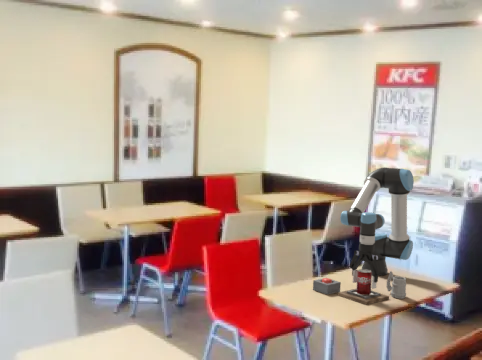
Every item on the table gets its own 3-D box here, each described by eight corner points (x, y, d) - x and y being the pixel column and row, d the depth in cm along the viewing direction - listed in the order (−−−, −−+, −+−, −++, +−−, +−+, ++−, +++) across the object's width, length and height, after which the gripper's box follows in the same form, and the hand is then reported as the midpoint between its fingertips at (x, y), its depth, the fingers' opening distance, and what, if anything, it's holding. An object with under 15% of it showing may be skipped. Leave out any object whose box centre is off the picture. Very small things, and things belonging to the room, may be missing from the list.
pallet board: (360, 290, 312) (361, 285, 312) (388, 298, 298) (389, 294, 298) (338, 295, 300) (338, 290, 300) (366, 304, 287) (366, 299, 286)
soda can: (370, 296, 295) (372, 273, 294) (356, 295, 296) (357, 271, 295) (370, 292, 302) (371, 269, 301) (356, 291, 303) (357, 268, 302)
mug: (399, 299, 298) (400, 276, 296) (381, 293, 307) (382, 271, 306) (409, 297, 302) (410, 274, 301) (391, 291, 312) (392, 269, 310)
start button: (326, 286, 311) (326, 277, 311) (333, 289, 308) (333, 279, 307) (319, 288, 308) (320, 279, 308) (326, 290, 304) (327, 281, 304)
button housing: (325, 286, 315) (326, 277, 315) (340, 291, 307) (340, 282, 307) (312, 289, 309) (313, 280, 308) (327, 294, 301) (327, 285, 301)
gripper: (343, 239, 303) (341, 280, 305) (381, 248, 285) (378, 292, 287) (353, 238, 308) (350, 278, 310) (391, 247, 290) (388, 290, 292)
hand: (364, 285), depth 299 cm, fingers open, 11 cm apart
